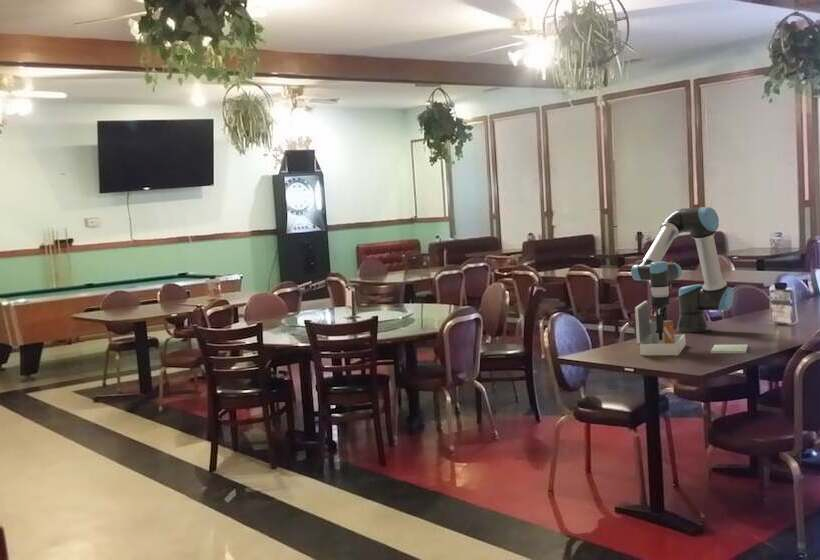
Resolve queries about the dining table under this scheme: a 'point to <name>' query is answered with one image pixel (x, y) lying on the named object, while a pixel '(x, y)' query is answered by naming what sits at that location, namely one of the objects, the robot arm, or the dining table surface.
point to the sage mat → (729, 349)
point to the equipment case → (646, 339)
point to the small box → (668, 332)
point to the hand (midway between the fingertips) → (663, 344)
